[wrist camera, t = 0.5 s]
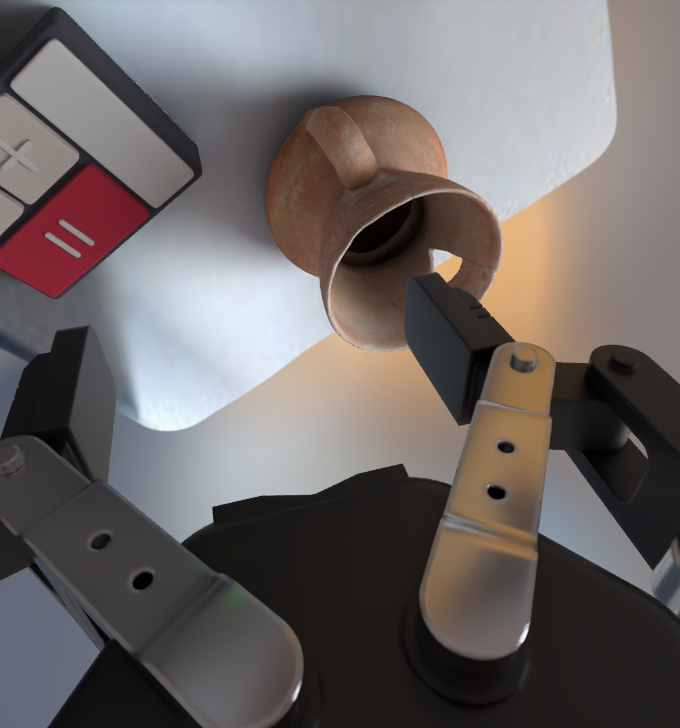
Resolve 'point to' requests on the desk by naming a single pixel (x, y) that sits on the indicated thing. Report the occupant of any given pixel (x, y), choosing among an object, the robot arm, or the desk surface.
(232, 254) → the desk surface
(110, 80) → the calculator
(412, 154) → the ceramic jug
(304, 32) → the desk surface
